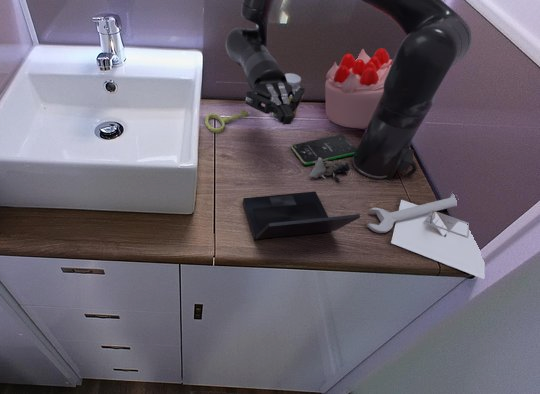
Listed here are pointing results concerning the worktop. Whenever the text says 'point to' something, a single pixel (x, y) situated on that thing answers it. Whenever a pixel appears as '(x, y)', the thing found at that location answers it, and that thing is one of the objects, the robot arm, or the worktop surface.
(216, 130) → the key
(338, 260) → the worktop surface
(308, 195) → the laptop
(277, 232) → the laptop screen
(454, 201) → the wrench
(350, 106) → the cake
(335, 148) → the smartphone
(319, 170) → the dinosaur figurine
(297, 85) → the pill bottle
